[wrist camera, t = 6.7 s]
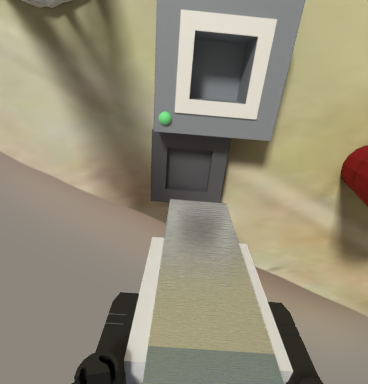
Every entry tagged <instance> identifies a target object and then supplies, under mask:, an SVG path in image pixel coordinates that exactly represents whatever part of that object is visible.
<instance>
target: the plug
mask: <svg viewBox="0 0 368 384" xmlns="http://www.w3.org/2000/svg"><path fill="white" fill-rule="evenodd" d="M142 384H284V382H283V379H282V376H281V373H280V370H279V366H278V363H277V360H276V357H275V354H274V351H273V348H272V345H271V342H270V338H269V335H268V332H267V329H266V326H265V323H264V320H263V317H262V314H261V311H260V307H259V304H258V301H257V298H256V295H255V292H254V289H253V286H252V283H251V279H250V276H249V273H248V270H247V267H246V264H245V261H244V258H243V255H242V252H241V248H240V245H239V242H238V239H237V236H236V233H235V230H234V227H233V224H232V220H231V217H230V214H229V211H228V208H227V205H226V203H213V202H200V201H188V200H175V199H170V203H169V209H168V216H167V223H166V230H165V236H164V243H163V249H162V256H161V263H160V269H159V276H158V283H157V289H156V296H155V303H154V309H153V316H152V323H151V329H150V336H149V343H148V349H147V356H146V363H145V369H144V376H143V383H142Z"/></svg>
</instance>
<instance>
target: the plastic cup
mask: <svg viewBox="0 0 368 384" xmlns="http://www.w3.org/2000/svg"><path fill="white" fill-rule="evenodd" d="M341 173H342V178H343V180H344V182H345V183H346V184H347V185H348V186H349V187H350V188H351V189H352V190H353V191H354V192H355V194H356V195H357V196H358V197H359V198H360V199H361V200H362V201H363V202H364V203H365V204H366V205H367V206H368V146H364V147H361V148H359V149H356V150H355V151H354V152H353V153H351V154H350V155H349V156H348V157H347V159H346V160H345V162H344V163H343V167H342V171H341Z"/></svg>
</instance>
